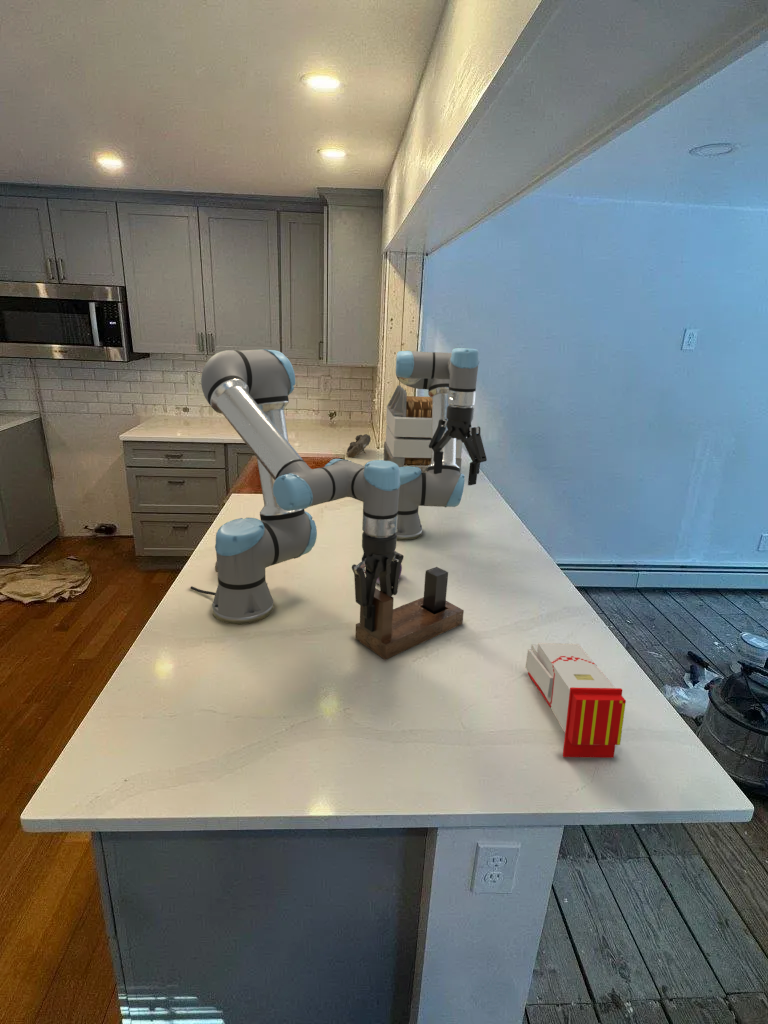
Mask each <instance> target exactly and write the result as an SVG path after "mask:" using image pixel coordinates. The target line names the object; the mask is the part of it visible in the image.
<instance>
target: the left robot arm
mask: <svg viewBox="0 0 768 1024" xmlns="http://www.w3.org/2000/svg"><path fill="white" fill-rule="evenodd" d="M200 385H201V390H202V393H203V396H204V398H205V400H206V402H207V403H208V404H209V406H211V408H212V410H213V411H214V412H216V413H218V414H222V415H223V416H224V418H225V419H226V421H227V422H228V423H229V424H230V426H231V427H232V428H233V429H234V430H235V432H236V433H237V434H238V436H239V437H240V438H241V439H242V440H243V442H244V443H245V445H246V446H247V447H248V449H249V450H250V451H251V453H252V454H253V455H254V456H255V457H256V460H257V468H258V475H259V481H260V487H261V493H262V500H263V507H262V509H261V510H260V511H259V519H258V518H257V517H256V518H254V517H245V518H243V517H239V518H235V519H232V520H229V521H227V522H225V523H224V524H222V525H221V526H220V527H219V528H218V530H217V532H216V533H215V545H214V548H215V549H214V550H215V551H216V552H215V553H216V554H215V555H216V561H217V571H218V572H217V587H216V590H215V592H214V591H208V590H203V589H199V588H197V587H195V586H192V585H191V586H190V590H193V591H195V592H197V593H201V594H205V595H211V596H214V597H213V601H212V604H211V608H212V615H213V617H214V618H215V619H216V620H218V621H220V622H223V623H225V624H231V625H244V624H245V625H246V624H247V625H248V624H253V623H256V622H259V621H262V620H264V619H265V618H267V617H268V616H270V615H271V614H272V612H273V611H274V598H273V595H272V594H271V590H270V587H269V586H268V582H267V580H266V568H269V567H271V566H274V565H278V564H281V563H284V562H286V561H290V560H292V559H298V558H301V556H304V555H307V554H309V553H310V552H311V551H312V549H313V548H314V547H315V544H316V542H317V539H318V538H317V535H318V529H317V525H316V522H315V520H314V519H313V516H312V514H311V513H309V512H308V511H305V509H308V508H310V507H314V506H317V505H321V504H324V503H325V504H326V503H330V502H333V501H338V500H341V499H345V498H350V499H351V498H352V499H354V500H358V501H360V502H362V506H363V507H362V526H361V528H362V533H361V548H362V551H363V553H362V557H361V561H360V562H359V563H357V564H355V563H353V564H352V565H351V570H352V572H353V575H354V576H353V577H354V596H355V597H354V598H355V599H354V600H355V603H356V604H358V605H359V606H360V605H361V606H363V617H365V623H364V627H365V628H367V629H368V630H369V631H371V632H373V631H374V626H375V605H373V599H374V593H375V588H376V587H377V583H376V581H377V578H379V581H380V584H379V590H380V591H381V592H383V593H385V594H386V595H388V596H390V597H391V598H393V599H394V597H393V596H396V595H397V594H398V591H399V581H400V579H399V575H400V567H401V565H402V563H403V561H404V555H403V554H402V553H400V552H398V551H396V550H397V541H398V540H397V534H396V531H397V520H398V500H399V489H400V469H399V466H398V465H397V464H396V463H394V462H391V461H384V459H373V460H369V461H367V462H366V463H365V464H363V465H362V464H359V463H356V462H355V461H352V460H349V459H346V458H345V459H342V458H332V459H331V460H330V461H328V462H327V463H325V465H324V466H321V467H316V468H311V467H310V466H309V465H308V463H307V462H306V461H305V460H304V459H303V457H301V455H300V454H299V453H298V452H297V451H296V449H295V448H294V447H293V445H292V444H291V443H290V441H289V435H288V429H287V422H286V421H287V420H286V415H285V408H286V407H287V405H288V404H289V403H290V400H289V396H290V395H291V393H293V391H294V390H295V387H294V386H295V385H296V373H295V370H294V367H293V364H292V362H291V361H290V359H289V358H288V357H287V356H286V355H285V354H284V353H283V352H281V351H279V350H275V349H267V348H263V349H242V350H241V349H239V350H232V349H231V350H230V349H229V350H227V349H226V350H222V351H220V352H217V353H215V354H214V355H212V356H211V357H210V358H209V359H208V360H207V361H206V363H205V364H204V367H203V369H202V371H201V377H200Z"/></svg>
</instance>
